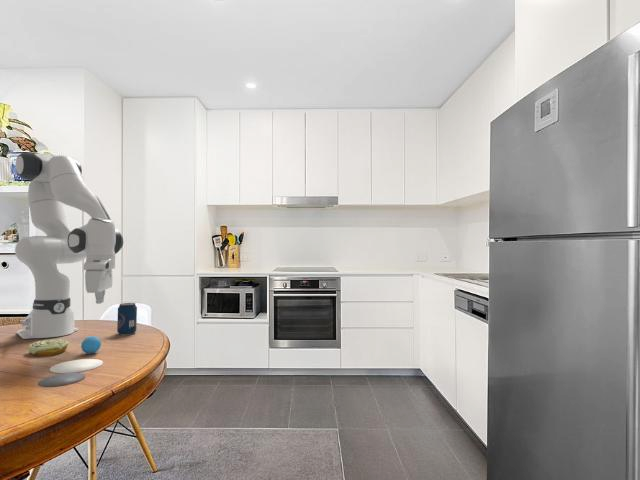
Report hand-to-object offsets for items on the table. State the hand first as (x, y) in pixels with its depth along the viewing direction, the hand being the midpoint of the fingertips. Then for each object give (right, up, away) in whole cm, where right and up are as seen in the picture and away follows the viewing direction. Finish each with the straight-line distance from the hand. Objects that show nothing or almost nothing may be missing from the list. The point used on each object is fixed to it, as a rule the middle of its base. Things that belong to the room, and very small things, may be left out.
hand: (99, 303), depth 132 cm
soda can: (-1, -16, +20) cm, 26 cm away
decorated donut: (-12, -15, -8) cm, 21 cm away
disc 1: (+11, -14, -34) cm, 39 cm away
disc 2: (+7, -15, -23) cm, 28 cm away
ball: (+3, -12, -9) cm, 16 cm away
